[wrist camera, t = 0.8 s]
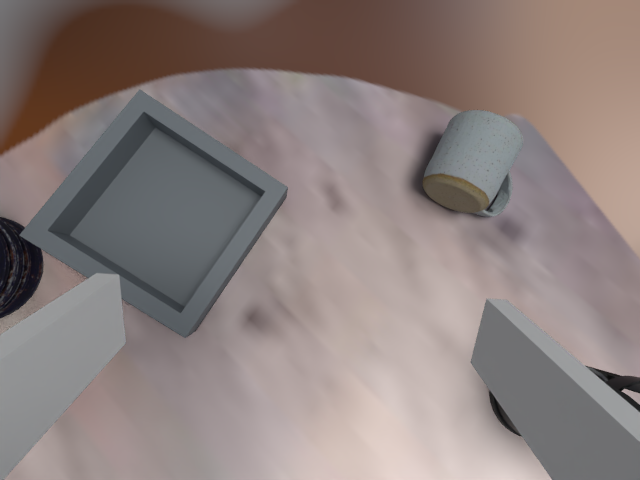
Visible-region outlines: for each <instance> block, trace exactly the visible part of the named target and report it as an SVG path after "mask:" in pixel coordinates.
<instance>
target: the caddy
mask: <svg viewBox="0 0 640 480" xmlns="http://www.w3.org/2000/svg"><path fill="white" fill-rule="evenodd" d="M287 190H288V187H287V186H285V185H284V184H282V183H280V182H279V181H277V180H276V179H274V178H273V177H271V176H270V175H268V174H267V173H265V172H264V171H262V170H261V169H259V168H258V167H256V166H255V165H253V164H252V163H250V162H249V161H247V160H246V159H244V158H243V157H241V156H240V155H238V154H237V153H235V152H234V151H232V150H231V149H229V148H228V147H226V146H225V145H223V144H222V143H220V142H218V141H217V140H215V139H214V138H212V137H211V136H209V135H208V134H206V133H205V132H203V131H202V130H200V129H199V128H197V127H196V126H194V125H193V124H191V123H190V122H188V121H187V120H185V119H184V118H182V117H181V116H179V115H178V114H176V113H175V112H173V111H172V110H170V109H169V108H167V107H166V106H164V105H163V104H161V103H160V102H158V101H156V100H155V99H153V98H152V97H150V96H149V95H147V94H146V93H144V92H143V91H141V90H139V91H138V92H137V93H136V95H135V96H134V97H133V98H132V99H131V101H130V102H129V103H128V104H127V105H126V107H125V108H124V109H123V110H122V111H121V113H120V114H119V115H118V116H117V118H116V119H115V120H114V121H113V122H112V124H111V125H110V126H109V127H108V128H107V130H106V131H105V132H104V133H103V134H102V136H101V137H100V138H99V139H98V141H97V142H96V143H95V144H94V145H93V147H92V148H91V149H90V150H89V151H88V153H87V154H86V155H85V156H84V157H83V159H82V160H81V161H80V162H79V163H78V165H77V166H76V167H75V168H74V170H73V171H72V172H71V173H70V174H69V176H68V177H67V178H66V179H65V180H64V182H63V183H62V184H61V185H60V186H59V188H58V189H57V190H56V191H55V192H54V194H53V195H52V196H51V197H50V199H49V200H48V201H47V202H46V203H45V205H44V206H43V207H42V208H41V209H40V211H39V212H38V213H37V214H36V215H35V217H34V218H33V219H32V220H31V222H30V223H29V224H28V225H27V226H26V228H25V229H24V230H23V231H22V232H21V234H20V236H21V237H23V238H24V239H26V240H28V241H29V242H31V243H32V244H34V245H36V246H37V247H39V248H41V249H42V250H44V251H45V252H47V253H49V254H50V255H52V256H53V257H55V258H57V259H58V260H60V261H62V262H63V263H65V264H66V265H68V266H70V267H71V268H73V269H74V270H76V271H78V272H79V273H81V274H83V275H84V276H86V277H87V278H90V277H91V276H93V275H94V274H96V273H103V274H119V278H120V288H121V298H122V299H123V300H125V301H126V302H128V303H129V304H131V305H133V306H134V307H136V308H137V309H139V310H141V311H142V312H144V313H146V314H147V315H149V316H150V317H152V318H154V319H155V320H157V321H158V322H160V323H162V324H163V325H165V326H167V327H168V328H170V329H171V330H173V331H175V332H176V333H178V334H179V335H181V336H183V337H184V338H186V337H187V336H189V335H190V334H192V333H193V332H195V331H196V330H197V328H198V327H199V325H200V324H201V322H202V321H203V319H204V318H205V316H206V315H207V313H208V312H209V310H210V309H211V307H212V306H213V305H214V303H215V302H216V300H217V299H218V297H219V296H220V294H221V293H222V291H223V290H224V288H225V287H226V285H227V284H228V282H229V281H230V280H231V278H232V277H233V275H234V274H235V272H236V271H237V269H238V268H239V266H240V265H241V263H242V262H243V260H244V259H245V257H246V256H247V254H248V253H249V252H250V250H251V249H252V247H253V246H254V244H255V243H256V241H257V240H258V238H259V237H260V235H261V234H262V232H263V231H264V229H265V228H266V227H267V225H268V224H269V222H270V221H271V219H272V218H273V216H274V215H275V213H276V212H277V210H278V209H279V207H280V206H281V204H282V203H283V201H284V200H285V199H286V196H287Z"/></svg>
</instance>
